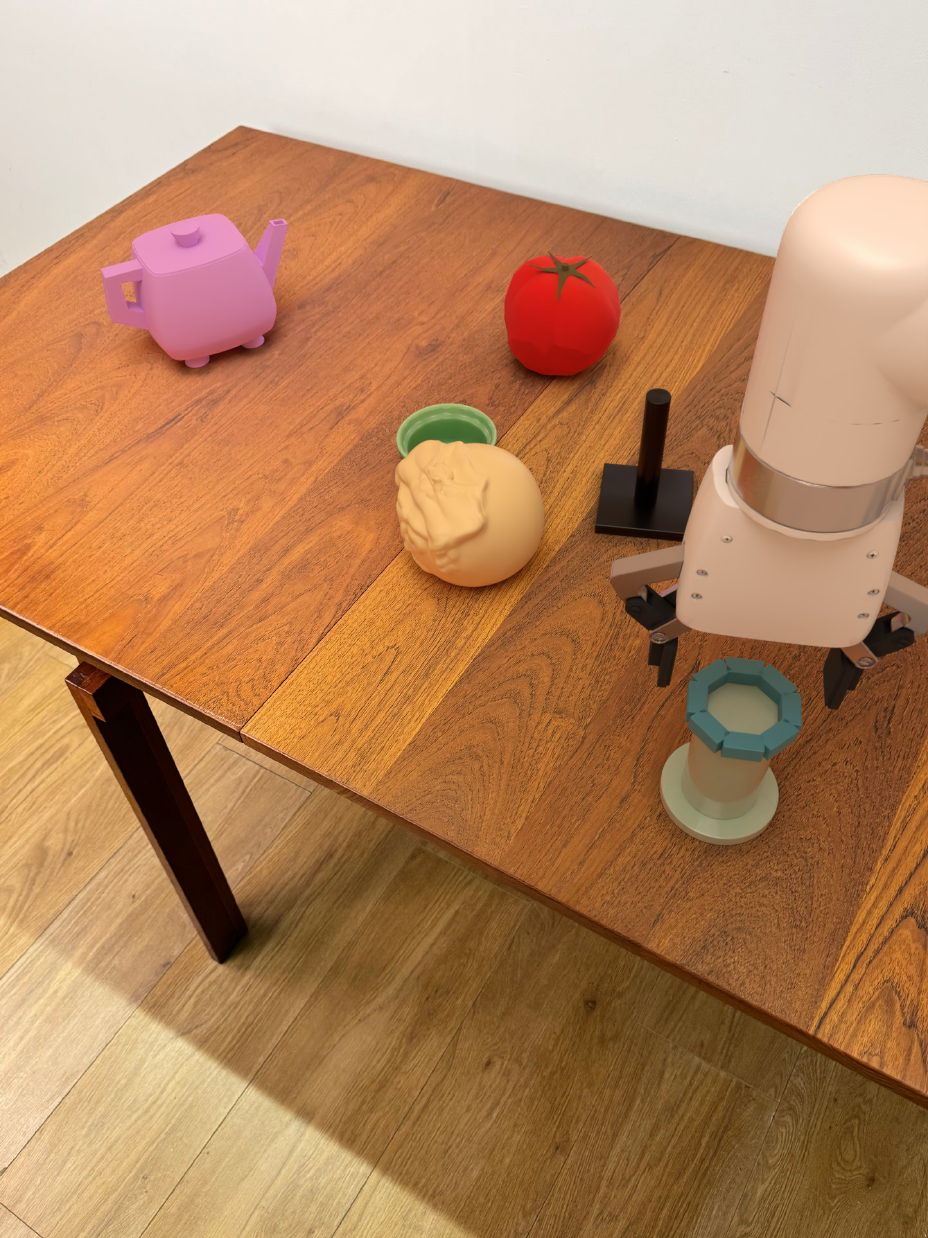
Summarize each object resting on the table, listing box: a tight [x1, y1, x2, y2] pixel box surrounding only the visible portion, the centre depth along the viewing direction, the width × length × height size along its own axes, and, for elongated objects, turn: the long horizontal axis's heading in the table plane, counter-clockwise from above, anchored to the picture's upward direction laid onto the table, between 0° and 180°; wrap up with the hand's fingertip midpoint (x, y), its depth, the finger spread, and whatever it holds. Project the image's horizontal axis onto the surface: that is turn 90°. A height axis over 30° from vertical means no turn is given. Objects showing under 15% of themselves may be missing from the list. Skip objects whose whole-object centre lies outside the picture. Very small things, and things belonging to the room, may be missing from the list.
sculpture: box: [394, 440, 545, 588], centre depth 81 cm, size 12×12×11 cm
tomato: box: [503, 250, 622, 376], centre depth 97 cm, size 12×12×11 cm
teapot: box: [100, 213, 289, 369], centre depth 102 cm, size 20×12×13 cm, turn 119°
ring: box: [684, 656, 803, 762], centre depth 61 cm, size 7×7×1 cm
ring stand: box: [659, 683, 780, 846], centre depth 66 cm, size 8×8×10 cm
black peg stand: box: [594, 387, 695, 542], centre depth 83 cm, size 8×8×12 cm
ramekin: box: [395, 403, 498, 460], centre depth 90 cm, size 9×9×4 cm
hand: (745, 678), depth 59 cm, fingers open, 9 cm apart
